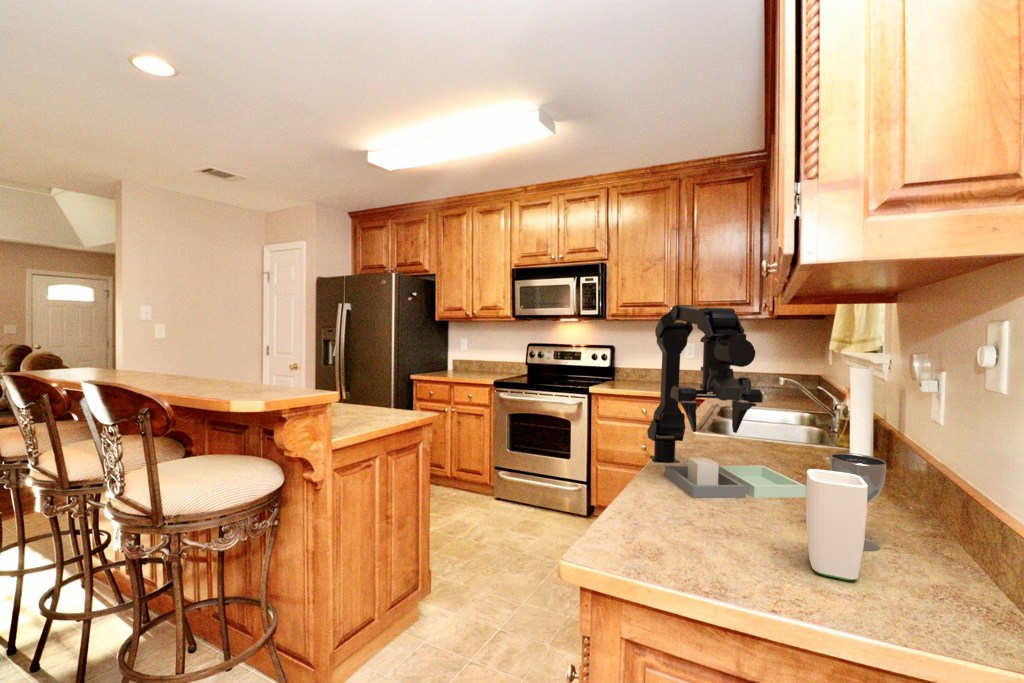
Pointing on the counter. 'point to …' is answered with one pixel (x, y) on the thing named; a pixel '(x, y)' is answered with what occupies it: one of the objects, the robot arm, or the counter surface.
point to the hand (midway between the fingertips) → (714, 432)
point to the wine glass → (868, 470)
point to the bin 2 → (764, 482)
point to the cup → (835, 522)
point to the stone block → (702, 471)
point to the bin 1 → (723, 490)
